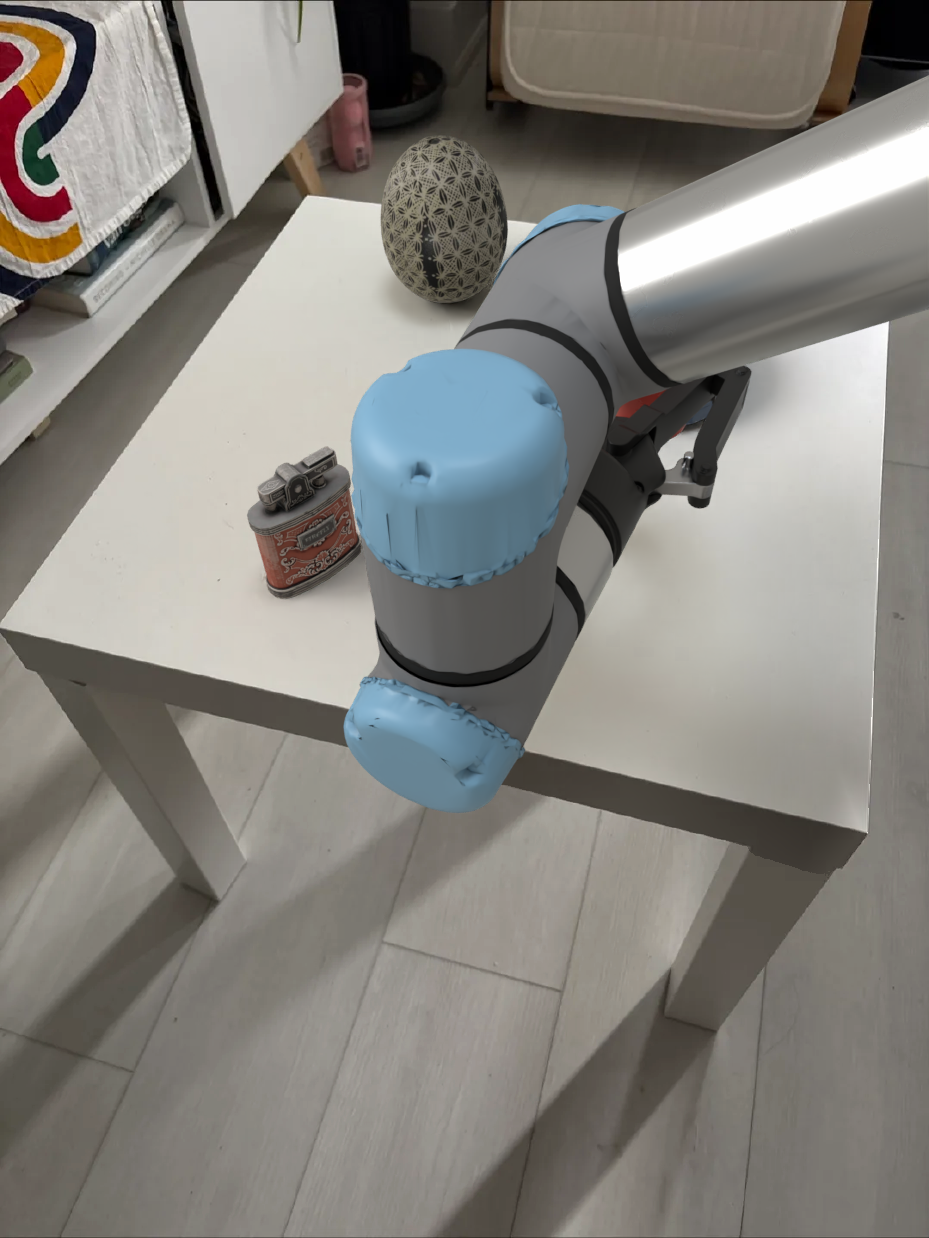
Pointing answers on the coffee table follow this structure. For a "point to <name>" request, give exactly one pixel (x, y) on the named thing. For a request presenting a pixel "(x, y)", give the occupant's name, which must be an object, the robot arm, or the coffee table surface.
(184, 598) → the coffee table surface
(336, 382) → the coffee table surface
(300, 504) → the lighter
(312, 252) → the coffee table surface
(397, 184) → the decorative egg
